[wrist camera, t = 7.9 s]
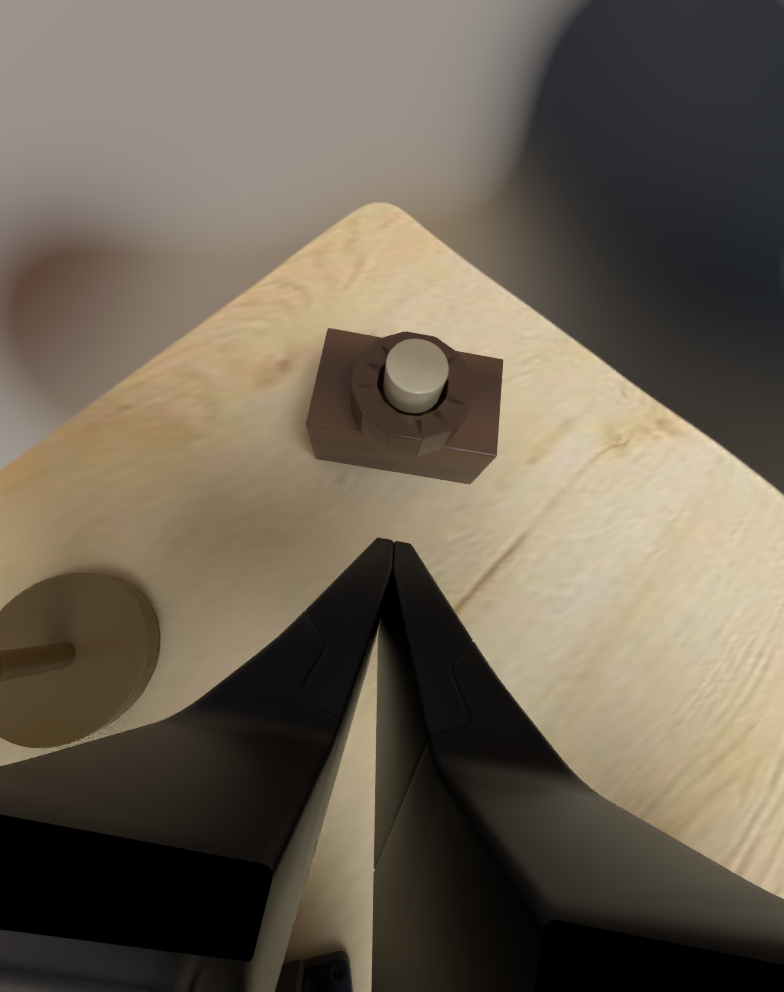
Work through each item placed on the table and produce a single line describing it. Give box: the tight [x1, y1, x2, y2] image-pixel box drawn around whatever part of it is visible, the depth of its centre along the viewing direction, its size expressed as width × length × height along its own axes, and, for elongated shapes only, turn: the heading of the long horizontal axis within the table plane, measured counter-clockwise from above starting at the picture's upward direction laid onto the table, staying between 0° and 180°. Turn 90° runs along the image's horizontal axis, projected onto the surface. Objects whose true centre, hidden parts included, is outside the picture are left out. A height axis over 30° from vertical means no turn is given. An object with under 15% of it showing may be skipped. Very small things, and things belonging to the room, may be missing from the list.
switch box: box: [306, 328, 503, 484], centre depth 21 cm, size 7×10×7 cm
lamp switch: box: [383, 339, 449, 413], centre depth 18 cm, size 3×3×2 cm
